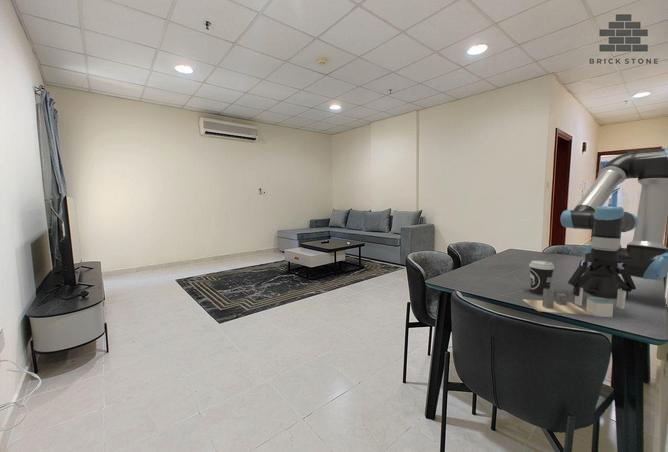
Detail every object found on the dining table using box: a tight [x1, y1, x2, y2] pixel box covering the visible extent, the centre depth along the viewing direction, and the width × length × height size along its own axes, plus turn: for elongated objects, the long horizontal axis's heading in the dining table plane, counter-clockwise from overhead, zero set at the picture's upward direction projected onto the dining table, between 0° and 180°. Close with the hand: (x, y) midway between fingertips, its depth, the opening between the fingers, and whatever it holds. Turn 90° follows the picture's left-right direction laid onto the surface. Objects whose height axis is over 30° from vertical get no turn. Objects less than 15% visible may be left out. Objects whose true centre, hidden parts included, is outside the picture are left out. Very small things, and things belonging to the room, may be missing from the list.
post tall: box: [542, 288, 556, 308], centre depth 114 cm, size 3×3×7 cm
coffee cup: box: [528, 260, 555, 296], centre depth 131 cm, size 10×10×15 cm
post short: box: [555, 292, 568, 305], centre depth 117 cm, size 3×3×4 cm
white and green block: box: [585, 296, 614, 318], centre depth 107 cm, size 5×5×7 cm
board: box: [521, 298, 593, 316], centre depth 114 cm, size 18×13×1 cm
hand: (598, 306), depth 107 cm, fingers open, 13 cm apart
